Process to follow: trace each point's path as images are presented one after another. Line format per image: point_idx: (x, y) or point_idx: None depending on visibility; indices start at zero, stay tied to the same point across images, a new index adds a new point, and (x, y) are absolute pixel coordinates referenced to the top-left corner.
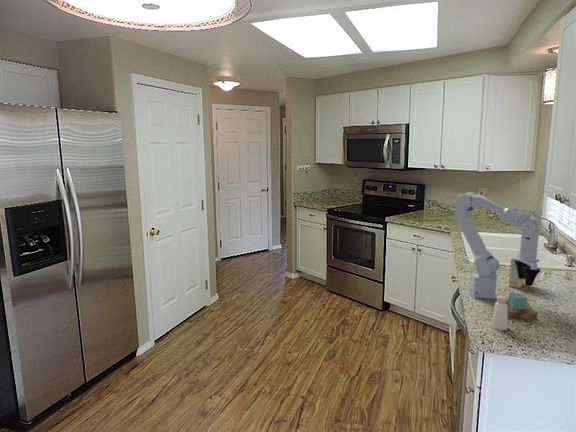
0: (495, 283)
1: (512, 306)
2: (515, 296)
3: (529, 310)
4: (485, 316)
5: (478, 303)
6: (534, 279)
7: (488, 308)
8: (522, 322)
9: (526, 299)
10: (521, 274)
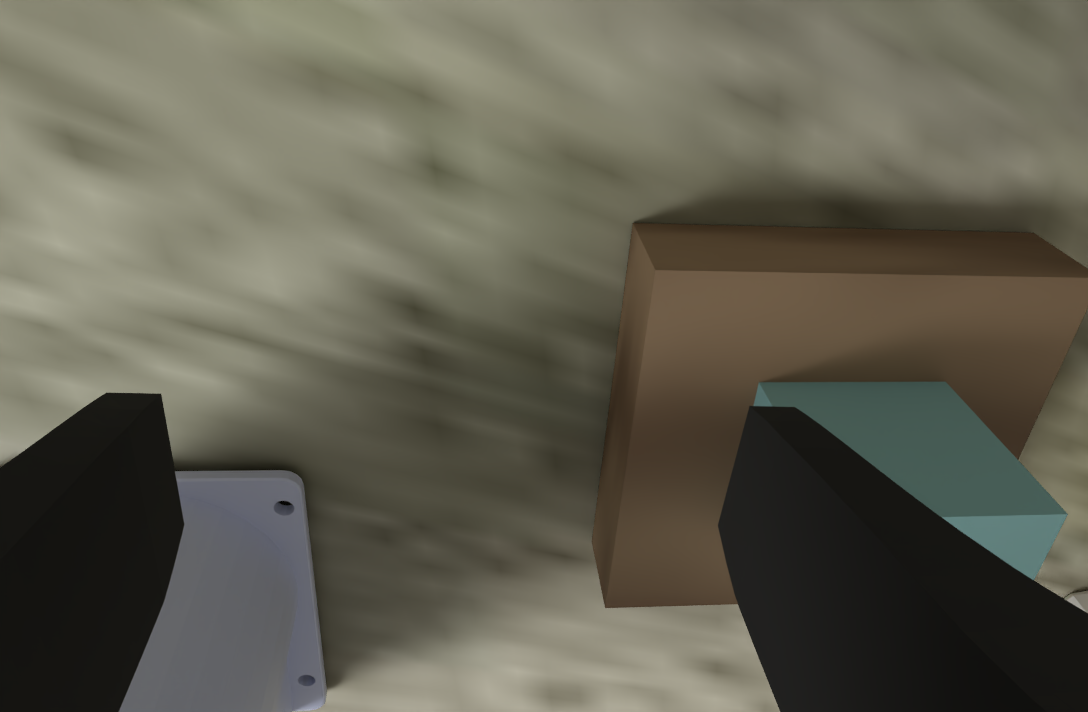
0: (181, 706)
1: None
2: None
3: (982, 344)
4: None
5: (493, 680)
6: (953, 529)
7: (638, 626)
8: (1056, 420)
9: (1048, 501)
10: (120, 593)
